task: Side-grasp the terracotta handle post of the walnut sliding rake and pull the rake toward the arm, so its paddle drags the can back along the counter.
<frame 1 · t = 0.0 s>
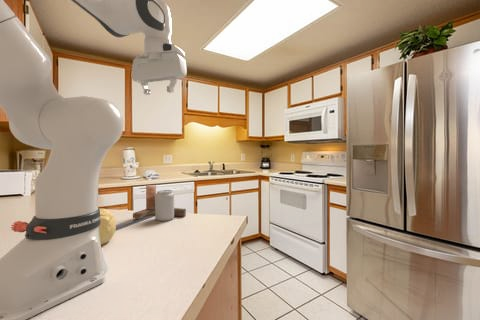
hand: (158, 93, 79), 48 cm above the counter, tool pointing down, fingers open, 8 cm apart
rail: (135, 221, 92), on the counter
pale yellow rounded lump: (94, 244, 70), on the counter
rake: (159, 202, 97), point 7 cm above the counter, slide at 0.0 cm
can: (164, 219, 96), on the counter
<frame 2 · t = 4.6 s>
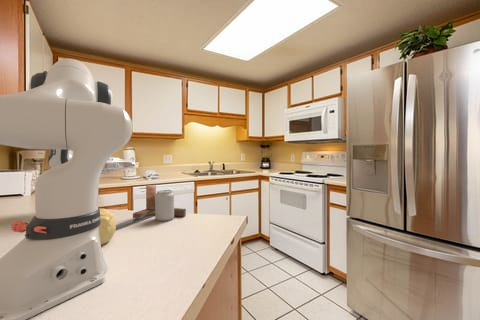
hand: (126, 165, 103), 22 cm above the counter, tool horizontal, fingers open, 8 cm apart
nothing on the counter moved.
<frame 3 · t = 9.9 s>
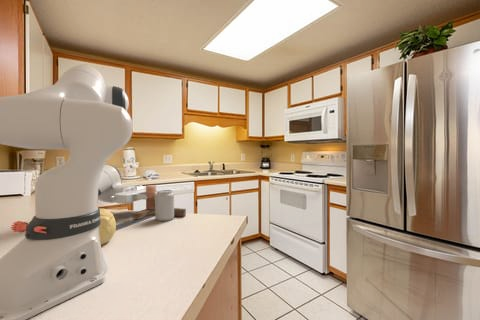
hand: (151, 196, 101), 9 cm above the counter, tool horizontal, fingers closed on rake, 4 cm apart
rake: (159, 202, 97), point 7 cm above the counter, slide at 0.0 cm, touching gripper
everything else where it was.
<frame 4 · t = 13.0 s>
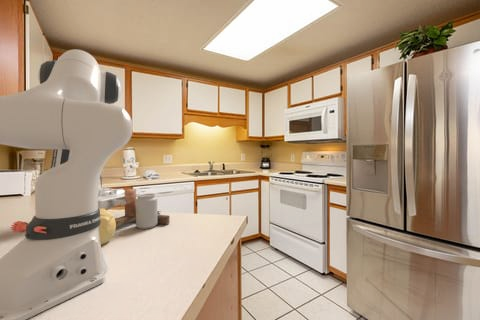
hand: (131, 201, 89), 9 cm above the counter, tool horizontal, fingers closed on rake, 4 cm apart
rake: (139, 208, 86), point 7 cm above the counter, slide at 11.8 cm, touching can, gripper
can: (146, 227, 86), on the counter, touching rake
everything else where it was.
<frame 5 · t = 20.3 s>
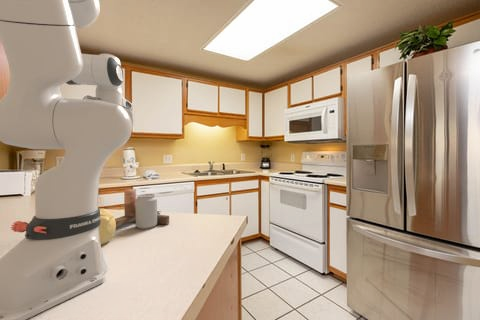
hand: (109, 137, 87), 33 cm above the counter, tool pointing down, fingers open, 8 cm apart
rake: (139, 208, 85), point 7 cm above the counter, slide at 12.0 cm
can: (146, 227, 86), on the counter
everything else where it was.
at the end: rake slide at 12.0 cm; can inside the target area (1.3 cm from its centre), on the counter; can tilted 0° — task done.
